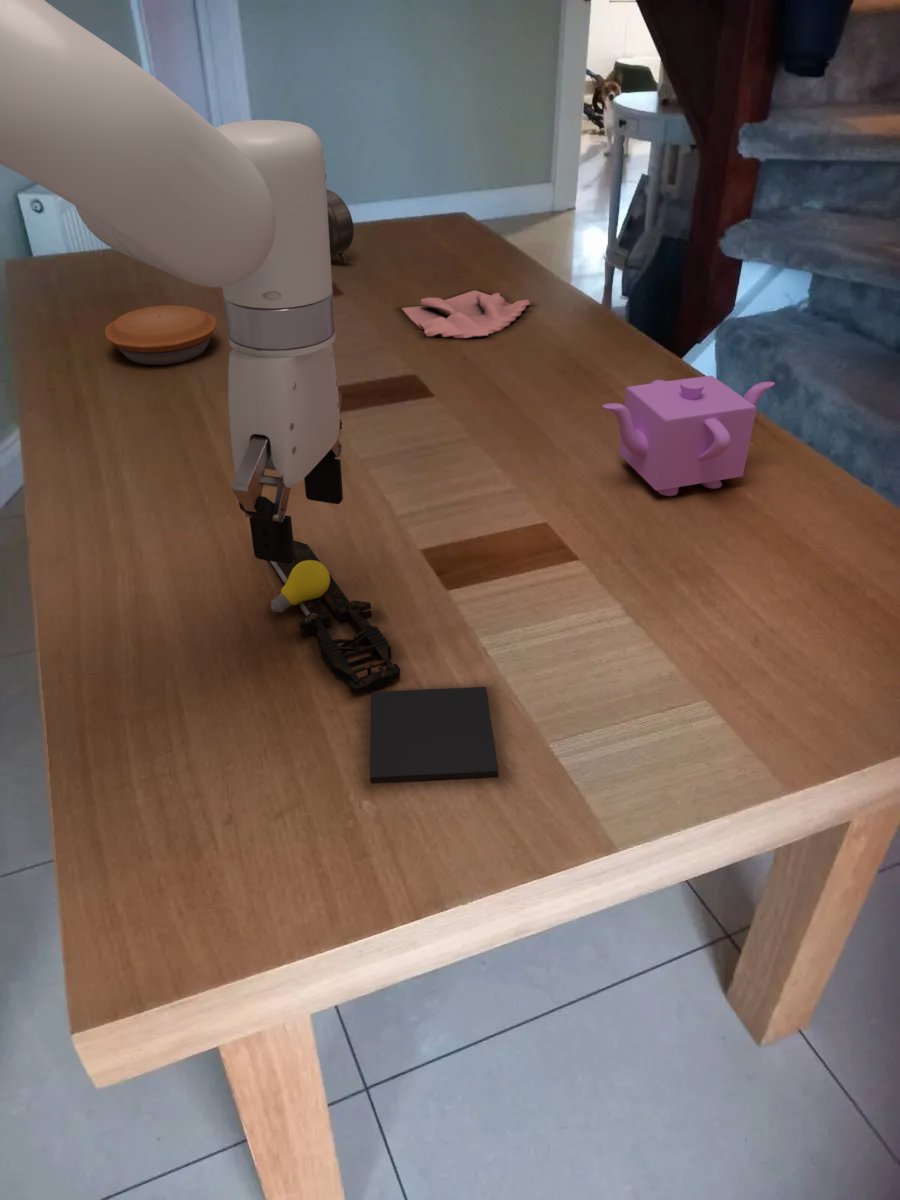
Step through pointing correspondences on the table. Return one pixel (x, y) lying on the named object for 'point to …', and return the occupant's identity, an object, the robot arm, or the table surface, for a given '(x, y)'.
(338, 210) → the alarm clock
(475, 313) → the cloth
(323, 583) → the light bulb
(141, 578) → the table surface
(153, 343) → the pie
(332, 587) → the knife
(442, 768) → the coaster
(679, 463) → the teapot
